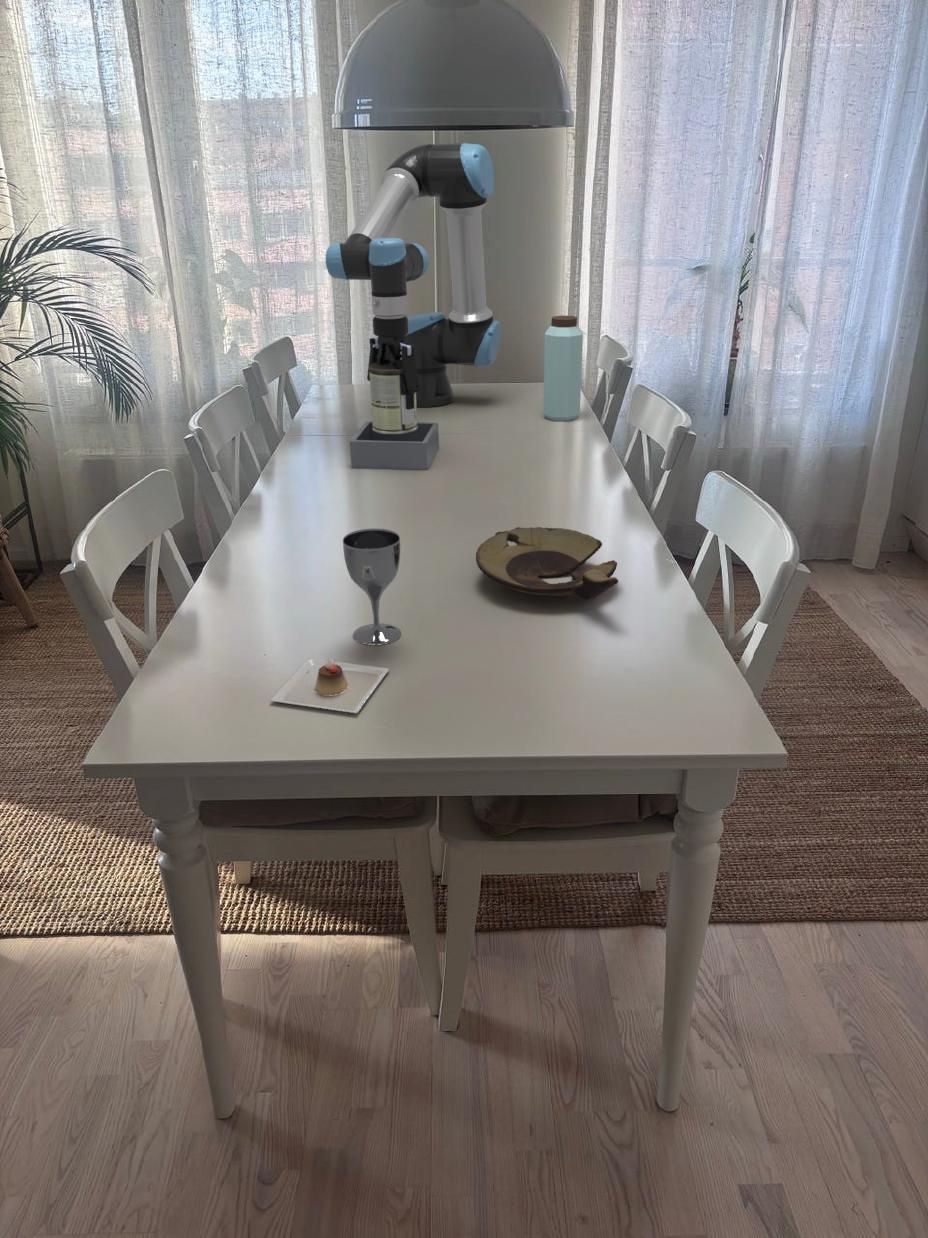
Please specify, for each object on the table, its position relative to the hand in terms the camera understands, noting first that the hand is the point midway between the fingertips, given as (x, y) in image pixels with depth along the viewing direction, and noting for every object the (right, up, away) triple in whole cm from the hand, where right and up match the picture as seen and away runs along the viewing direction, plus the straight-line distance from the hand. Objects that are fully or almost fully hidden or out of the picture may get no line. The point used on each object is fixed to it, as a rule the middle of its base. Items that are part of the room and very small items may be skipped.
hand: (394, 418), depth 219 cm
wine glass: (+3, -47, -76) cm, 90 cm away
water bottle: (+41, +7, +35) cm, 54 cm away
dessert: (-2, -55, -89) cm, 105 cm away
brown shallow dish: (+29, -40, -62) cm, 79 cm away
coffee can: (0, -2, +1) cm, 2 cm away
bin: (0, -8, +4) cm, 9 cm away
